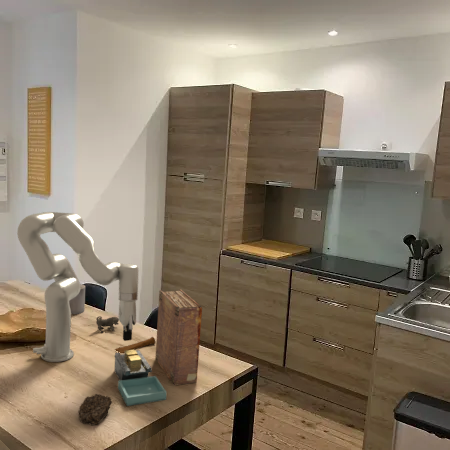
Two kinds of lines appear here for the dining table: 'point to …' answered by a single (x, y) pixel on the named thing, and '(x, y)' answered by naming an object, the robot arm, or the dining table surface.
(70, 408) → the dining table surface
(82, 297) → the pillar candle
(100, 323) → the dog figurine
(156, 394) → the tray
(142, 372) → the grey block holder
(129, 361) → the tan wooden block
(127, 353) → the tan wooden cube
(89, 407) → the dark brown rock
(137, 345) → the primitive tool
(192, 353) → the book
